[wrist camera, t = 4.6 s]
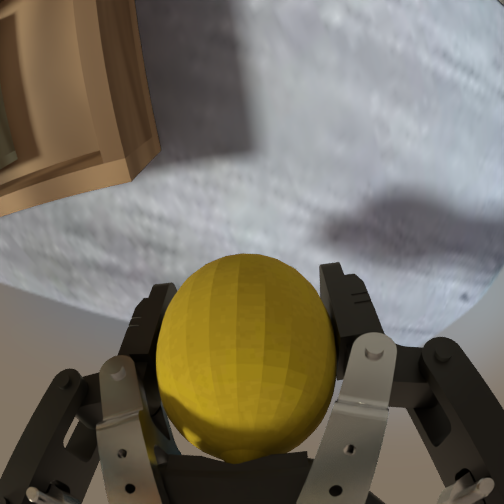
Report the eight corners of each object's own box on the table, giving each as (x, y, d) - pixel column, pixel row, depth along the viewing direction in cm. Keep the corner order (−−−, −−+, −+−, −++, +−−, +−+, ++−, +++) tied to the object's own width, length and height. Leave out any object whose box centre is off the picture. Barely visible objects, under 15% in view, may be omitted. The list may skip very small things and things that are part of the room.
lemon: (303, 198, 11) (362, 406, 4) (322, 308, 14) (355, 478, 7) (160, 232, 12) (82, 423, 5) (207, 329, 15) (187, 491, 8)
